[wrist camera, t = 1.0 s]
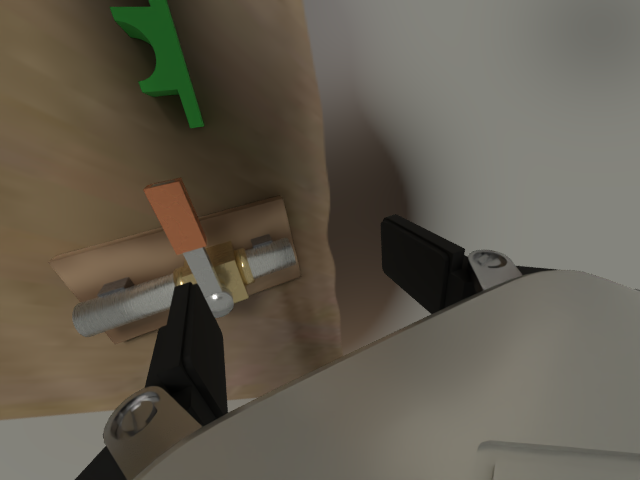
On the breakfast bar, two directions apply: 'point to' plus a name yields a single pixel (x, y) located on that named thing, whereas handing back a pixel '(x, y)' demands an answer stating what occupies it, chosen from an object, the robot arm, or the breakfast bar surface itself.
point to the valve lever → (188, 240)
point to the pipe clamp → (161, 54)
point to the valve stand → (171, 257)
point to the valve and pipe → (156, 295)
